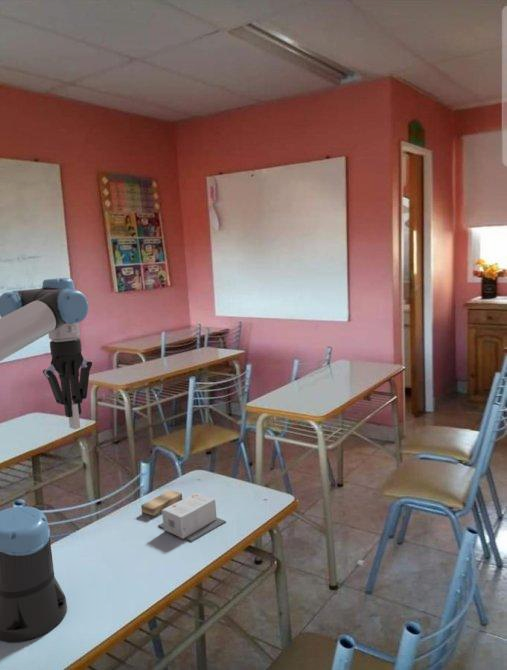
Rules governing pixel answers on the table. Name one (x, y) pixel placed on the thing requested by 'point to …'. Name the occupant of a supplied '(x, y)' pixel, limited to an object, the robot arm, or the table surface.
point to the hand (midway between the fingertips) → (75, 427)
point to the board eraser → (160, 503)
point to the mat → (202, 529)
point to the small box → (189, 515)
